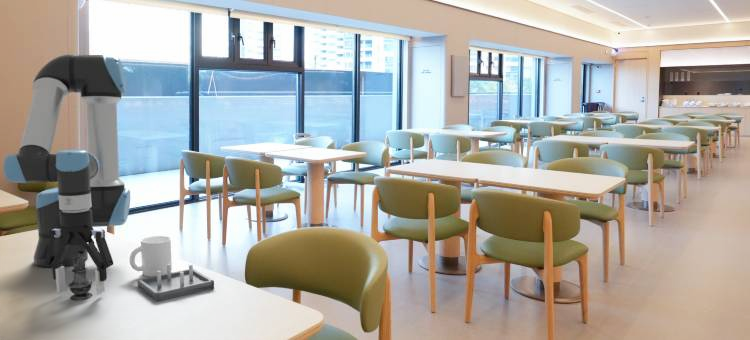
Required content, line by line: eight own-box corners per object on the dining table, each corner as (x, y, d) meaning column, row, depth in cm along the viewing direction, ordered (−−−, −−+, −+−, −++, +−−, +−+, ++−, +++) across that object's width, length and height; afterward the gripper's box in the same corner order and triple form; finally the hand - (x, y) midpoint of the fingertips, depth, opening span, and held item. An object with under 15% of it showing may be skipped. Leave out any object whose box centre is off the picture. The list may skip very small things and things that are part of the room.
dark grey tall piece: (98, 294, 158) (96, 251, 156) (81, 301, 152) (78, 257, 150) (81, 291, 160) (78, 248, 158) (63, 299, 154) (60, 254, 152)
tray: (137, 287, 164) (136, 267, 163) (192, 275, 174) (192, 257, 173) (156, 301, 153) (155, 280, 152) (214, 288, 163) (213, 268, 163)
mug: (135, 282, 168) (134, 247, 166) (125, 275, 174) (123, 241, 172) (176, 273, 176) (175, 239, 174) (165, 266, 182) (163, 234, 180)
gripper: (24, 211, 150) (30, 295, 153) (110, 214, 148) (115, 298, 151) (43, 205, 157) (48, 285, 160) (125, 207, 155) (129, 288, 159)
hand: (80, 291), depth 156 cm, fingers open, 10 cm apart
